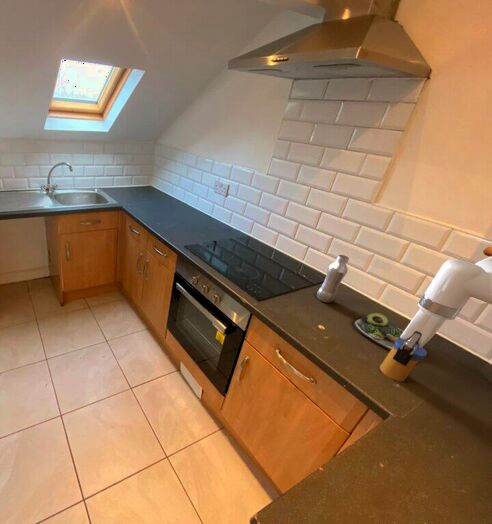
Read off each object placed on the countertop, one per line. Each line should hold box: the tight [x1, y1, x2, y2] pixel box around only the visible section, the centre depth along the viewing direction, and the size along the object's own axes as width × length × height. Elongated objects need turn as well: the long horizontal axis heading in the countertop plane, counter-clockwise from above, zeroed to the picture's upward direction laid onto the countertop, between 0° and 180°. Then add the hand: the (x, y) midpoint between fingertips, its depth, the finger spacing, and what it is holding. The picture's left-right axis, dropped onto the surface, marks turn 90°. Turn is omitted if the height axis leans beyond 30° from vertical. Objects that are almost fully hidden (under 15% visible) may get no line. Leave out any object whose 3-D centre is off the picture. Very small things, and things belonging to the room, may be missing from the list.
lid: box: [394, 338, 428, 361], centre depth 84 cm, size 7×7×2 cm
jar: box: [379, 346, 420, 382], centre depth 86 cm, size 6×6×10 cm
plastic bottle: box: [316, 254, 350, 304], centre depth 118 cm, size 6×7×20 cm
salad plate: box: [353, 312, 404, 351], centre depth 103 cm, size 19×18×5 cm
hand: (404, 356), depth 85 cm, fingers closed on lid, 6 cm apart
